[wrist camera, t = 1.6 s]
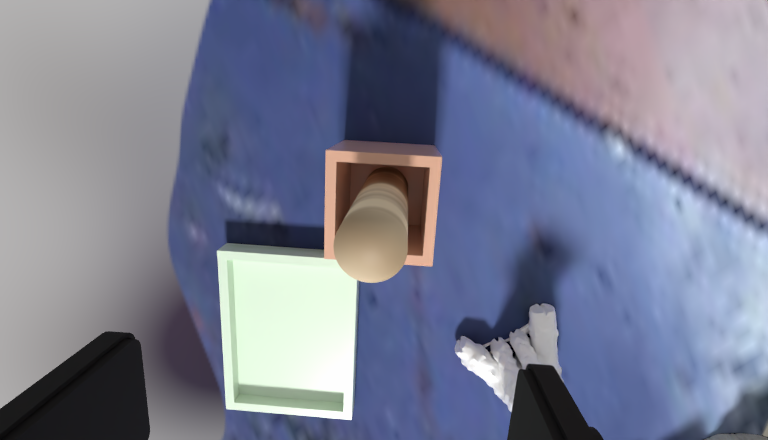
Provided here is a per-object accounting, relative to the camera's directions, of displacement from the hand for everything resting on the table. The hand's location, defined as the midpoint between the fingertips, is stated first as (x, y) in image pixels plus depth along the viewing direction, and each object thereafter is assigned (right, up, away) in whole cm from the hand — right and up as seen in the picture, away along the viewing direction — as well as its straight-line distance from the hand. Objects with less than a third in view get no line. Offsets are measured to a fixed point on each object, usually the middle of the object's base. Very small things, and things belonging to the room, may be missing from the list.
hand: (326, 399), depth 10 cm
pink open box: (+2, +7, +25) cm, 26 cm away
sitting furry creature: (+14, -8, +29) cm, 33 cm away
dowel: (+2, +7, +24) cm, 25 cm away
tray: (-7, -6, +29) cm, 30 cm away
